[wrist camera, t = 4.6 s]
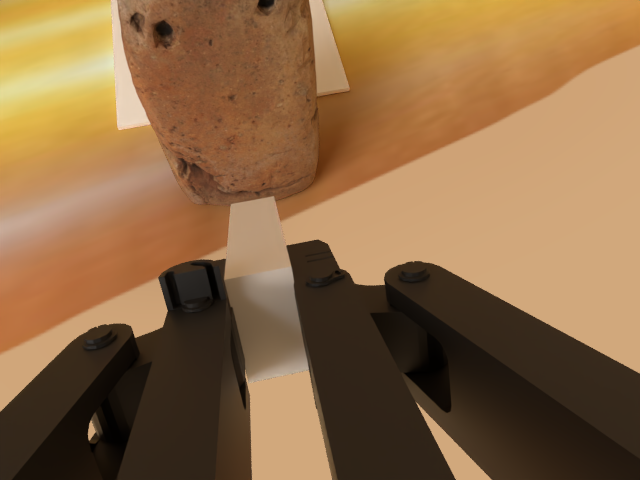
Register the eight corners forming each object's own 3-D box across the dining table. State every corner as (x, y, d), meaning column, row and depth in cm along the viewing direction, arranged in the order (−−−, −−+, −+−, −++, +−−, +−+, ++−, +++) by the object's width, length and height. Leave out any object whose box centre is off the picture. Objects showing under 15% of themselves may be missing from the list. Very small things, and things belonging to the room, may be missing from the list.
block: (303, 123, 42) (290, -141, 24) (324, 197, 39) (327, -41, 21) (175, 148, 41) (62, -108, 23) (187, 226, 38) (66, 1, 20)
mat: (119, 129, 42) (117, 126, 42) (112, 3, 48) (110, 0, 48) (349, 90, 44) (349, 87, 43) (312, -26, 50) (312, -30, 50)
